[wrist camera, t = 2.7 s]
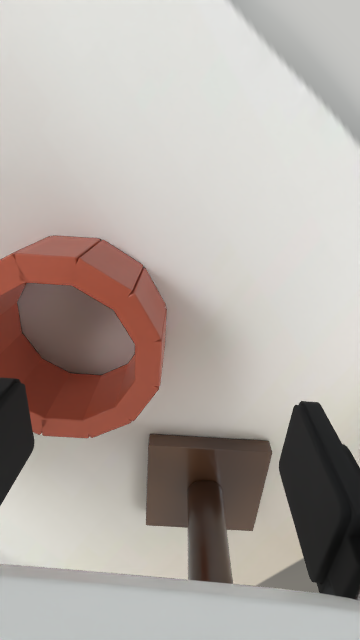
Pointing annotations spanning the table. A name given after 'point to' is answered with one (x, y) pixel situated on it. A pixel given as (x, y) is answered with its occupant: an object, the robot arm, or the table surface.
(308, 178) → the table surface
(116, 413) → the hoop
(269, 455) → the stand
